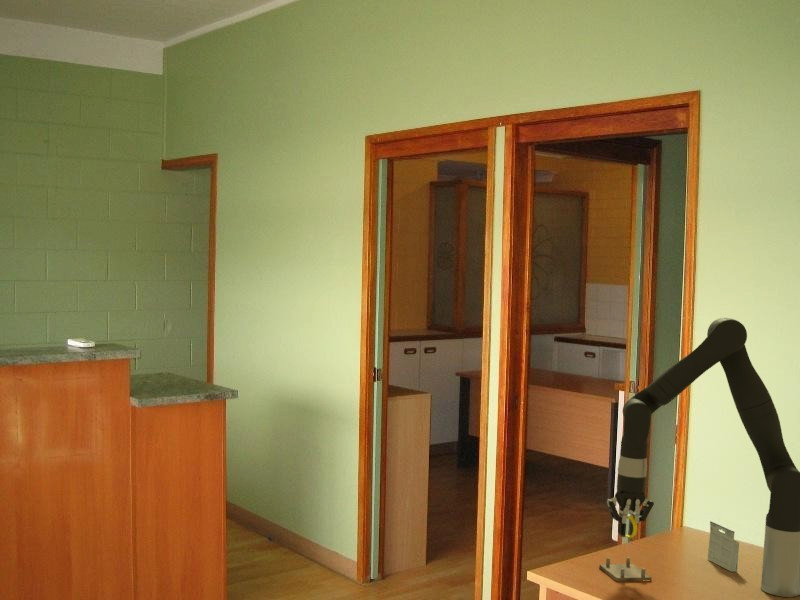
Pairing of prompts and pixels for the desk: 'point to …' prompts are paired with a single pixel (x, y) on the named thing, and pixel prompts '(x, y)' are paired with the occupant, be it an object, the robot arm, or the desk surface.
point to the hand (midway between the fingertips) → (627, 535)
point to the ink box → (723, 547)
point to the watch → (633, 526)
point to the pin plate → (624, 571)
